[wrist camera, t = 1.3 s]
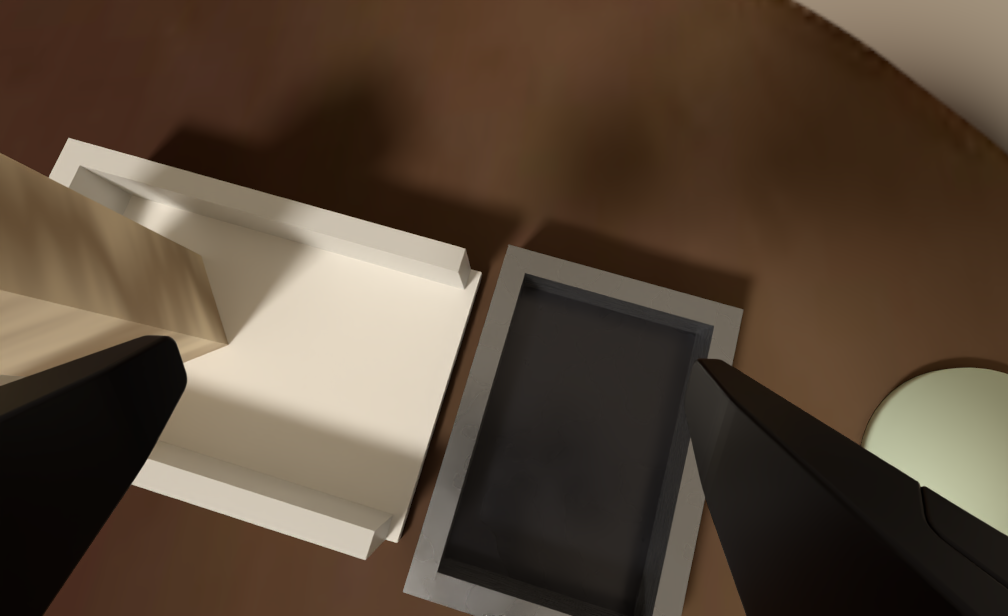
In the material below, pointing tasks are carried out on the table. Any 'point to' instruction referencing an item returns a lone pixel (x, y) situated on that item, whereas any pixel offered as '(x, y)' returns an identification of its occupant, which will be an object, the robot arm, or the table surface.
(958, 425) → the pad
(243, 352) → the cream rectangular tray
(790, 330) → the table surface
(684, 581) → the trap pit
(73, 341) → the maple block
